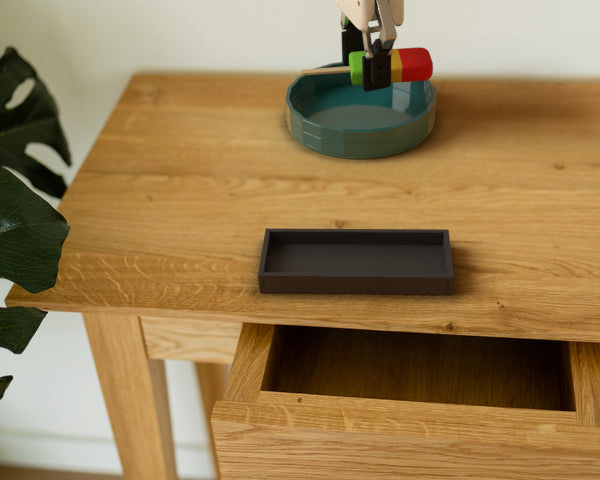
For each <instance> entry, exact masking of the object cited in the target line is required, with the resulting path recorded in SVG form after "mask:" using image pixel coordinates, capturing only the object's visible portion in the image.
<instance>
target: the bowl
mask: <svg viewBox="0 0 600 480" xmlns="http://www.w3.org/2000/svg"><path fill="white" fill-rule="evenodd" d="M347 66H349V65H347ZM347 66H346V65H344V64H343V62H342V61H338V62H331V63H327V64H325V65H320V66H318V67H314V68H313V69H318V68H332V67H347ZM284 101H285V102H284V104H285V120H286V123H287V128H288V131H289V133H290V135H291V136H292V138H294V140H295V141H297V142H298V143H299V144H300V145H302V146H303V147H305V148H306V149H308V150H311V151H313V152H315V153H318V154H321V155H325V156H328V157H334V158H340V159H349V160H371V159H380V158H386V157H390V156H394V155H395V156H396V155H398V154H401V153H404V152H407V151H408V150H409V151H410V150H411V149H413V148H415V147H416V146H419V145H420V144H421V143H422V142H423V141H425V140H426V139H427V138H428V137H429V136H430V134H431V133H432V131H433V128H434V126H435V123H436V111H437V89H436V87H435V85H434V83H432V81H431V80H430V79H428V80H425V81H414V82H399V83H391V85H390V87H388V88H383V89H378V90H373V91H368V92H366V91H364V89H363V87H362V85H355V86H354V85H352V80H351V73H350V72H345V73H330V74H315V75H301V74H300V75H299V76H297V77H296V78H295V79H294V80H293V81H292V82H291V83H290V85H288V87H287V88H286V94H285V98H284Z"/></svg>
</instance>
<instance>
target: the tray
mask: <svg viewBox="0 0 600 480" xmlns="http://www.w3.org/2000/svg"><path fill="white" fill-rule="evenodd" d="M451 245H452V244H451V239H450V230H449V229H448V228H447V229H437V228H436V229H435V228H434V229H433V228H431V229H430V228H427V229H426V228H425V229H424V228H422V229H421V228H287V227H285V228H276V227H275V228H274V227H272V228H270V227H268V228H266V227H265V230H264V237H263V242H262V248H261V254H260V258H259V259H260V260H259V266H258V271H257V282H258V291H259V293H260V294H261V293H262V294H263V293H264V294H332V295H333V294H336V295H337V294H339V295H346V294H347V295H413V296H416V295H417V296H421V295H422V296H453V294H454V293H453V292H454V285H455V271H454V262H453V255H452V247H451Z"/></svg>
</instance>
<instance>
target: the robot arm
mask: <svg viewBox="0 0 600 480" xmlns="http://www.w3.org/2000/svg"><path fill="white" fill-rule="evenodd" d="M335 3H336V5H337V6H338V8H339V9H340V10H341V15H340V28H341V30H342V31H341V33H340V35H341V38H340V39H341V62H343V64H344V65H346V66H347V65H349V54H350V53H351V52H357V51H365V55H366V56H362V87H363V89H364V91H366V92H368V91H373V90H378V89H383V88H388V87H390V85H391V55H392V53H393V49H394V48H393V47H394V45H395V42H396V40H397V39H398V33H397V29H396V27H398V28H399V27H401V26H402V25H403V24H404V21H405V0H335ZM375 21H376V22H377V24H378V25H375V26H369V23H370V22H375ZM375 33H379V35H378V38H375V39H374V40H373V41H372V35H371V34H375Z"/></svg>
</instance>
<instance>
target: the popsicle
mask: <svg viewBox="0 0 600 480" xmlns="http://www.w3.org/2000/svg"><path fill="white" fill-rule="evenodd" d="M392 49H393V53H392V55H391V83H399V82H414V81H425V80H428V79H429V80H430V79H431V78H432V76H433V73H434V62H433V59H432V56H431V53H430V51H429V50H428V49H427V48H425V47H420V46H418V47H417V46H416V47H402V48H401V47H400V48H392ZM362 56H366V55H365V51H357V52H351V53H350V54H349V66H347V67H332V68H318V67H317V68H318V69H314V68H305V69H301V70H300V76H301V75H315V74H330V73H345V72H350V73H351V80H352V85H354V86H355V85H362Z"/></svg>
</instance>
